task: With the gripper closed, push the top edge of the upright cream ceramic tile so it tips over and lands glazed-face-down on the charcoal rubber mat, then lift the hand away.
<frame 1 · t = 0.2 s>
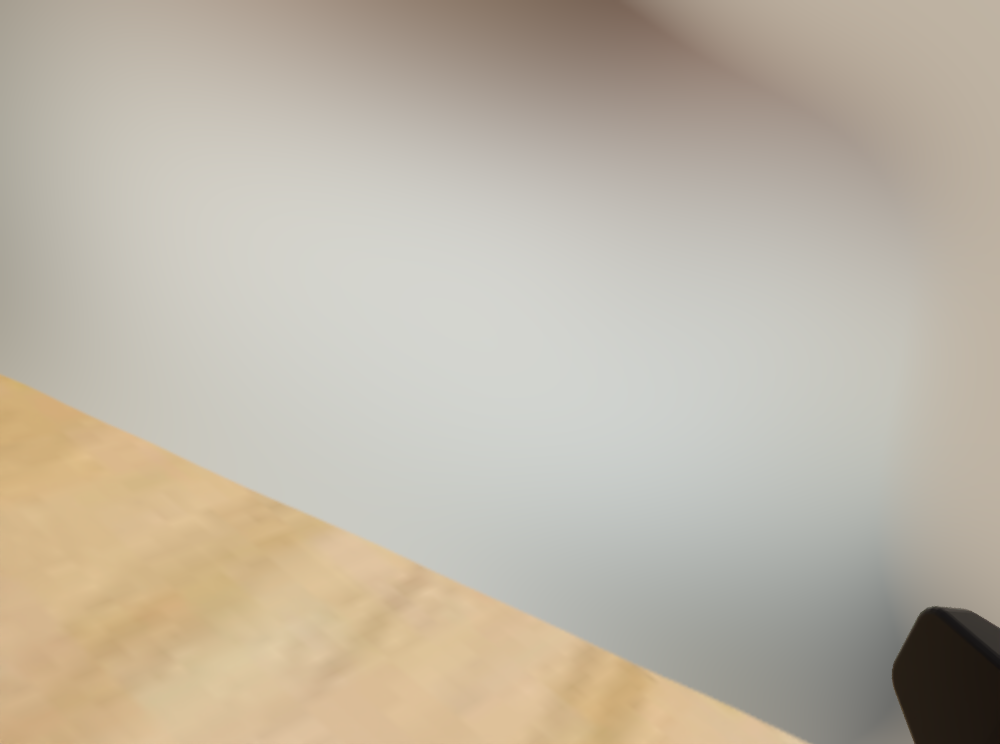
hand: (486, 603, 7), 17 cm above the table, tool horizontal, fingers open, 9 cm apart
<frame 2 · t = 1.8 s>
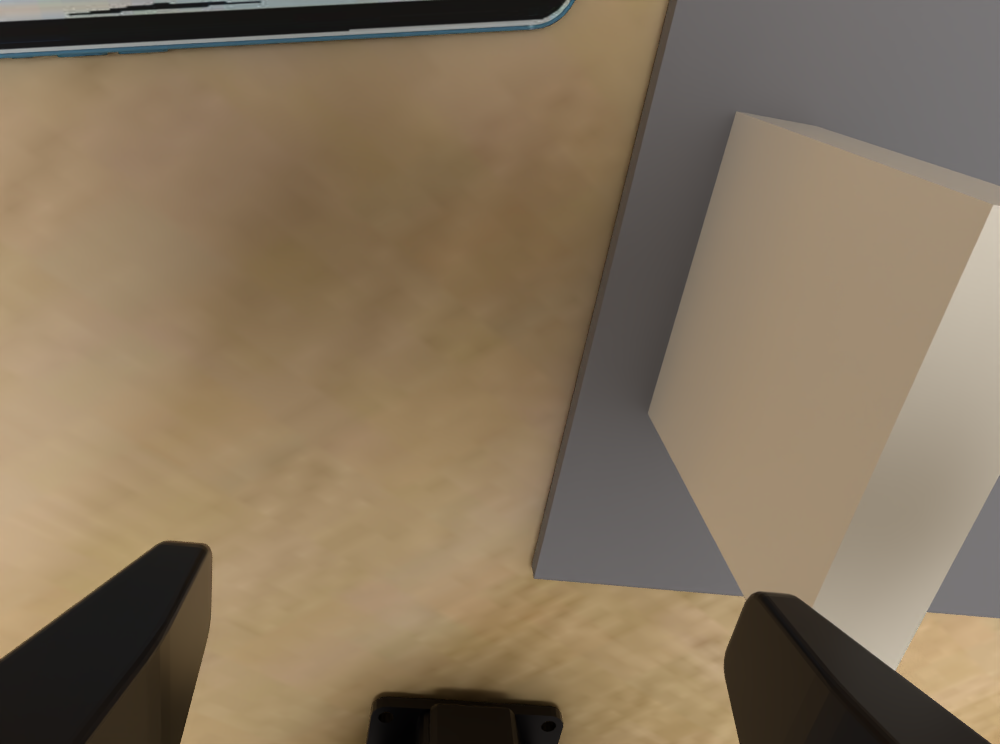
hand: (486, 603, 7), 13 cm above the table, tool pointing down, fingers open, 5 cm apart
tile: (725, 280, 20), point 1 cm above the table, touching mat
mat: (924, 304, 21), on the table
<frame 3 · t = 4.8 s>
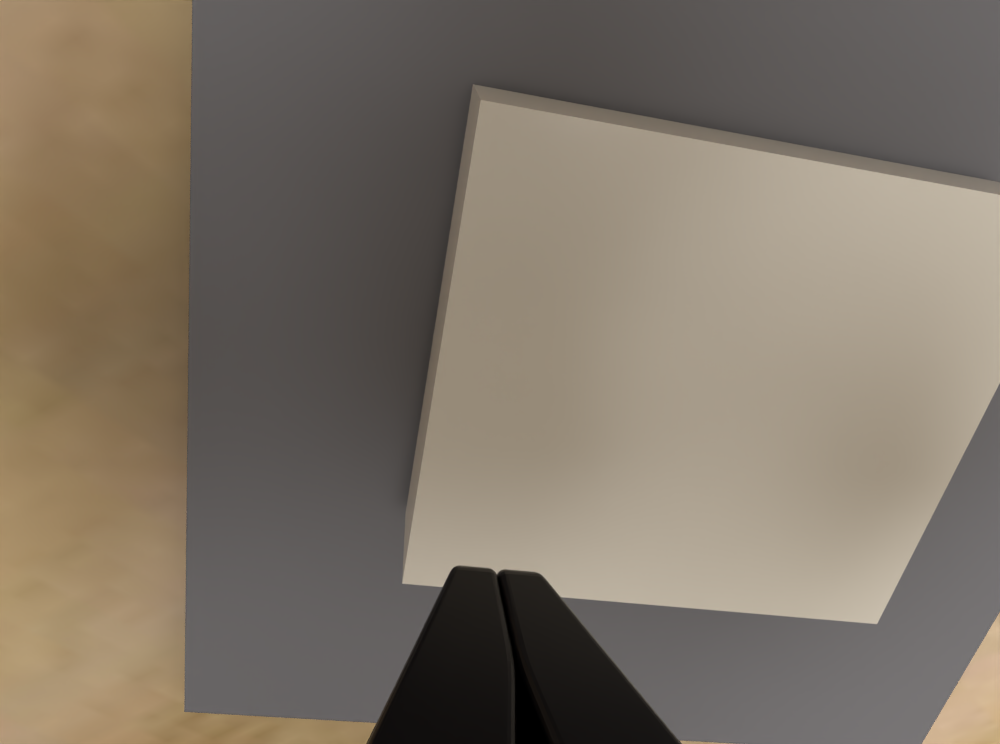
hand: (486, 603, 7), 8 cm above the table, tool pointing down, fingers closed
tile: (435, 349, 12), point 2 cm above the table, tilted 90°, touching mat
mat: (687, 345, 15), on the table
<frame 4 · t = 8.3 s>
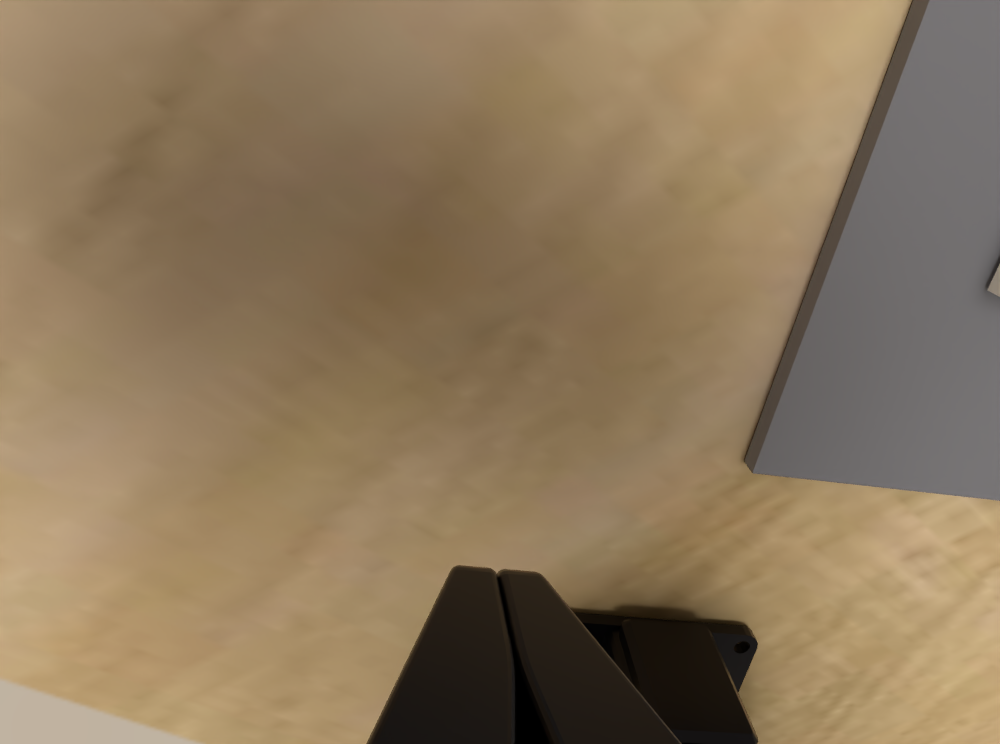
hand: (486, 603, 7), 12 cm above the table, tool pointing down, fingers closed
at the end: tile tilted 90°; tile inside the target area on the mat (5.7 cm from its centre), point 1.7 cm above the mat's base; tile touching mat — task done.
